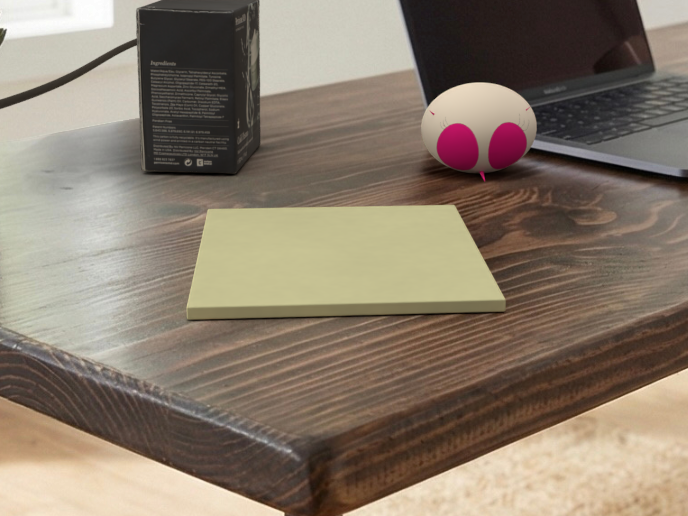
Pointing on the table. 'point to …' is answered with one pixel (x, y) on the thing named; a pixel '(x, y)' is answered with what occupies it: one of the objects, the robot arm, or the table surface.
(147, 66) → the box
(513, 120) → the stress ball
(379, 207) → the mat
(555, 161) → the table surface
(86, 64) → the robot arm
